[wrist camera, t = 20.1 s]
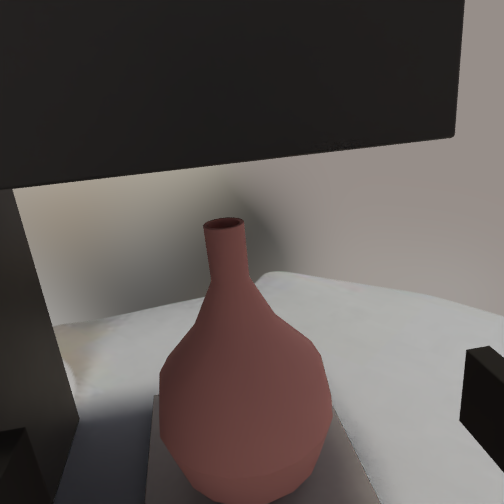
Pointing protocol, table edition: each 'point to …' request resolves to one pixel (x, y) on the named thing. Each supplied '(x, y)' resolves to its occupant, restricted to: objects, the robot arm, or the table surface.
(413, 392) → the table surface
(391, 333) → the table surface
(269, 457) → the pink vase
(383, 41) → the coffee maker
